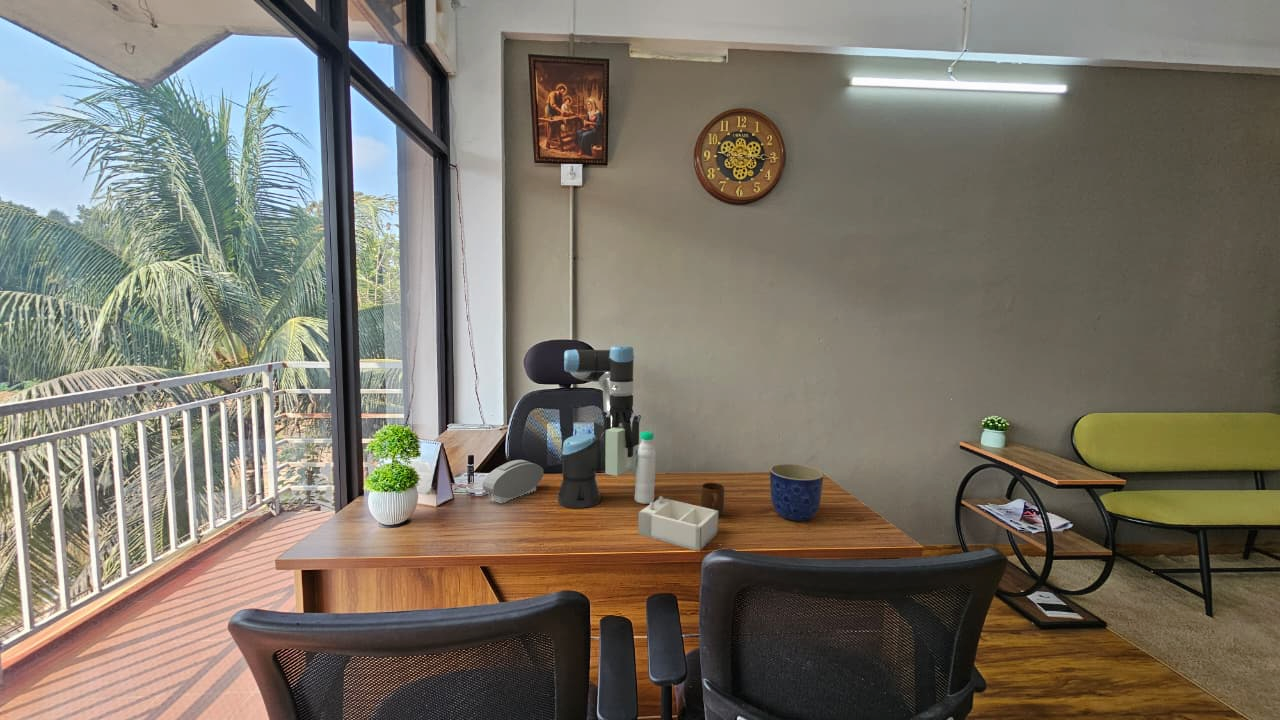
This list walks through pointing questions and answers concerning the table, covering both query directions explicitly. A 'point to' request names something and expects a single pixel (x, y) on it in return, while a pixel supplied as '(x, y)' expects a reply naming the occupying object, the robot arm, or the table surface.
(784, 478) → the planter
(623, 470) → the pale green block
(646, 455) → the water bottle
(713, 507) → the mug
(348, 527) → the table surface
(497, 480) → the grey rounded oblong block
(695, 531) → the desk organizer
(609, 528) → the table surface
